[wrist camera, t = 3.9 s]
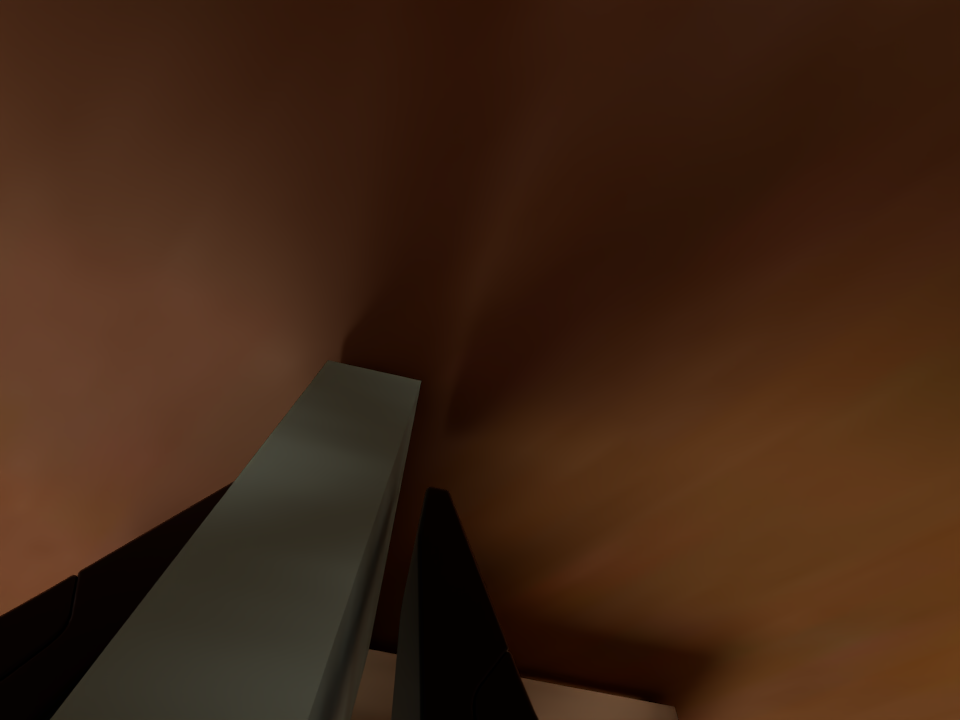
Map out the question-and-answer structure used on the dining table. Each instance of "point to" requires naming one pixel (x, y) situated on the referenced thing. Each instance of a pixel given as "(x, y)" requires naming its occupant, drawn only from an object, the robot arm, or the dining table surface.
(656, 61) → the dining table surface
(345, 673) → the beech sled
